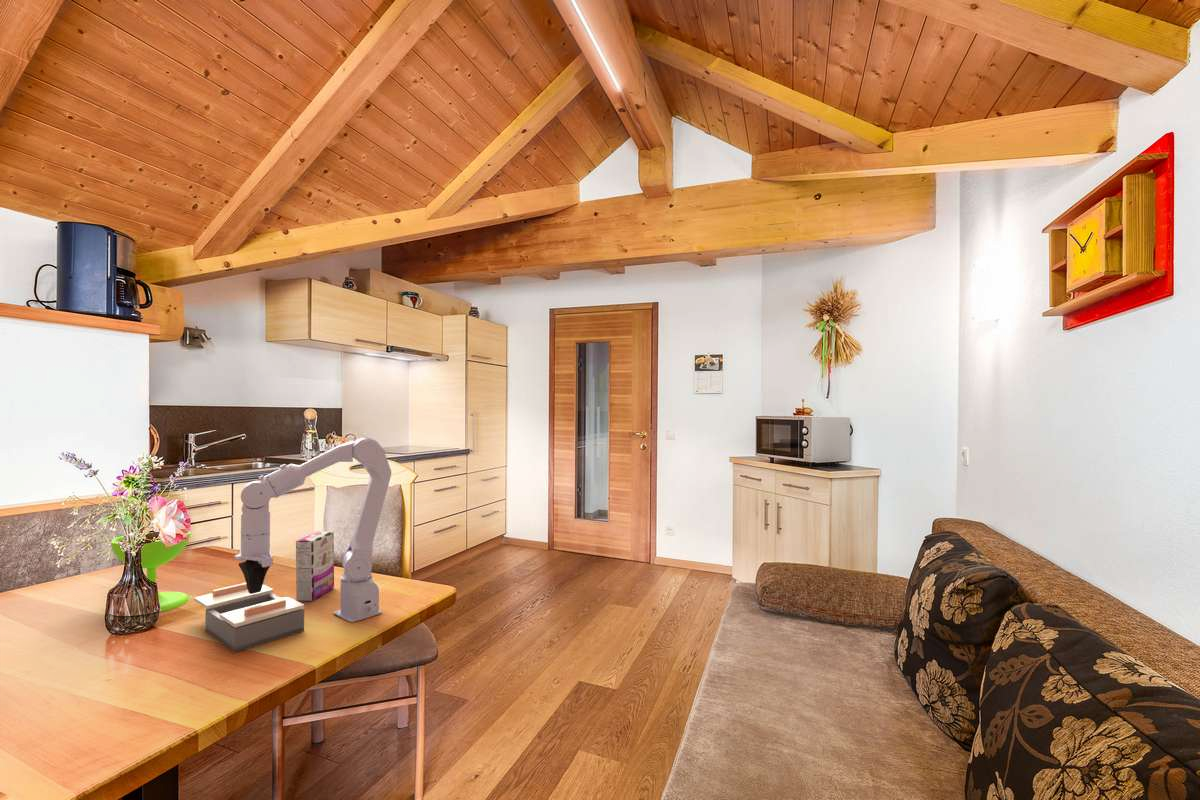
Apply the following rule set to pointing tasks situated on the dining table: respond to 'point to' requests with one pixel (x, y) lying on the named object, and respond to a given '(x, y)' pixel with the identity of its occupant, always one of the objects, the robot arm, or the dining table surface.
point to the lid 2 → (261, 611)
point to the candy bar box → (314, 565)
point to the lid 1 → (229, 595)
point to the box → (252, 625)
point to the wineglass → (152, 558)
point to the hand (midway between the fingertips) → (254, 592)
